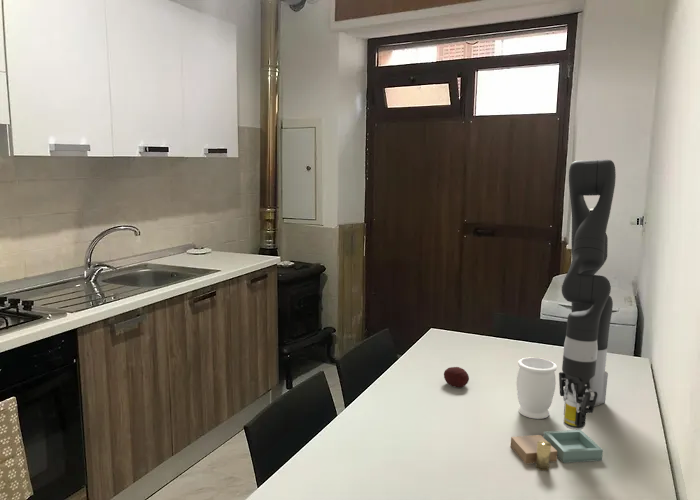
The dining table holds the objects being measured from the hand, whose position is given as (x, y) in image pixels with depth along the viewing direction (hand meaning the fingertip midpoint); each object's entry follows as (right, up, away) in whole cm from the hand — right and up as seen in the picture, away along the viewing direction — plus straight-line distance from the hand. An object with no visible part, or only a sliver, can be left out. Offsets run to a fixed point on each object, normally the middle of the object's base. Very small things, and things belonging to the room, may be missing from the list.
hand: (574, 420), depth 136 cm
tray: (0, -8, +1) cm, 8 cm away
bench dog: (-10, -9, -7) cm, 15 cm away
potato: (-21, -1, +40) cm, 46 cm away
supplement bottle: (0, -2, 0) cm, 2 cm away
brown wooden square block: (-10, -8, 0) cm, 13 cm away
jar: (-3, -5, +22) cm, 23 cm away
